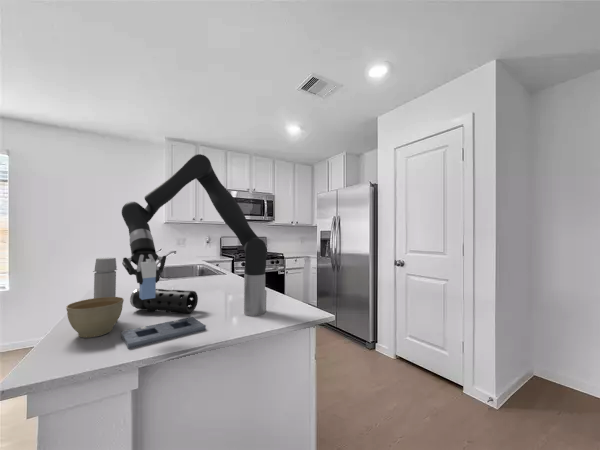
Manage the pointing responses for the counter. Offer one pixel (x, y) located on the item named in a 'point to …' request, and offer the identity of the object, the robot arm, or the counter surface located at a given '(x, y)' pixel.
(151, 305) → the muzzle brake
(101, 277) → the water bottle
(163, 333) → the panel
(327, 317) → the counter surface
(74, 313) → the planter bowl
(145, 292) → the plug
